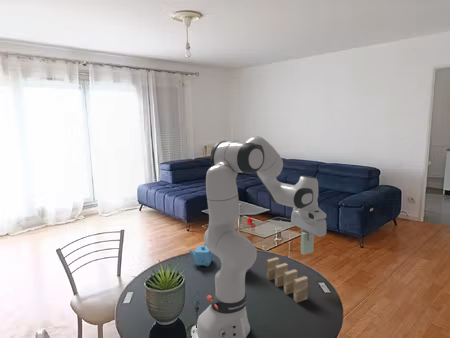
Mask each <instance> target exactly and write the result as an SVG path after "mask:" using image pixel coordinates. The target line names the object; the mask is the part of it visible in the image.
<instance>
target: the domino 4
mask: <svg viewBox="0 0 450 338" xmlns="http://www.w3.org/2000/svg"><path fill="white" fill-rule="evenodd" d="M308 283H309V278H308V277H307V276H306V275H303V276H299V277H297V279H294V292H293V301H294V302H295V303H296V304H297V303H300V302H304V301H305V300H308V297H309V295H308V294H309V293H308V291H309V289H308V288H309V284H308Z"/></svg>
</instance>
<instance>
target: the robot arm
mask: <svg viewBox="0 0 450 338" xmlns="http://www.w3.org/2000/svg"><path fill="white" fill-rule="evenodd" d="M210 151H211V152H210V162H209V163H210V167H209V168H208V170H207V171H206V175H205V190H206V192H205V194H206V199H207V200H206V202H207V209H208V227H207V229H206V230H205V232H204V234H203V243H204V244H205V245H206V246H207V248H208V249H209V250H210V252H212V254H214V255H213V256H216V257H217V258H218V259H219V260H220V265H221V266H220V270H218V271H217V272H216V273H215V276H214V283H215V284H214V287H215V293H214V296H212V295H211V294H208V295H207V296H206V300H207V302H209V303H210V304H209V306H208V307H207V308H205V309H204V310H203V312H202V313H200V315H199V316H198V317H197V321H196V324H195V325H193V326H192V327H191V330H190V336H192V337H191V338H247V337H248V335H249V333H250V332H251V325H250V323H249V320H248V314H247V293H246V274H247V272H246V271H247V269H251V268H252V266H253V265H254V264H255V262H256V259H257V257H258V252H257V248H256V247H255V245H254V244H253V243H252V242H251V241H250V240H249V239H248V238H247V237H245V236H243V235H241V234H240V233H238V232H237V231H236V228H235V225H236V224H235V223H236V221H237V220H238V219H239V218H240V216H241V209H240V200H239V192H238V184H237V176H238V174H239V173H241V174H254V173H256V175H257V178H258V179H259V180H260V181H261V183H262V185H263V186H264V188H265V189H266V191H267V192H268V195H269V198H270V200H271V202H272V203H274V204H276V205H283V206H285V207H289V208H292V212H291V217H290V222H291V225H293V226H295V227H297V228H300V232H301V233H303V232H309V234H310V235H309V237H307V240H308V241H312V237H313V236H314V237H315V236H316V237H318V238H321V237H325V236H326V235H327V220H326V218H327V213H326V212H324V211H323V210H322V209H321V208H320V207H319V202H318V198H319V182H318V178H316V177H314V176H309V175H308V176H307V175H300V176H299V179H298V181H297V182H296V183H295V184H290V183H284V182H281V181H279V180H278V179H277V177H278V176H279V175H281V172H282V171H283V166H284V162H283V158H282V157H281V155H280V154H279V153H278V151H277V150H276V149H275V147H273V145H272V144H270V142H268V141H267V140H266V139H264V138H263V137H262V136H259V135H255V136H251V137H249V138H248V139H247V140H246V141H240V140H223V141H222V140H221V141H218V142H217V143H215V144H214V145H213V147H212V148H211V150H210ZM301 233H300V234H301ZM196 325H197V328H196ZM193 332H194V333H193Z"/></svg>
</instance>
